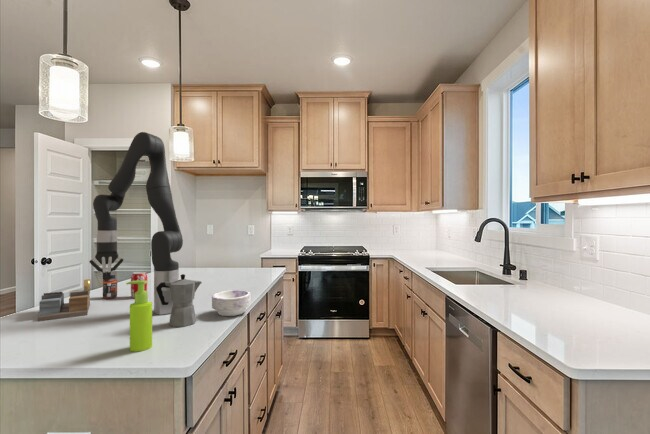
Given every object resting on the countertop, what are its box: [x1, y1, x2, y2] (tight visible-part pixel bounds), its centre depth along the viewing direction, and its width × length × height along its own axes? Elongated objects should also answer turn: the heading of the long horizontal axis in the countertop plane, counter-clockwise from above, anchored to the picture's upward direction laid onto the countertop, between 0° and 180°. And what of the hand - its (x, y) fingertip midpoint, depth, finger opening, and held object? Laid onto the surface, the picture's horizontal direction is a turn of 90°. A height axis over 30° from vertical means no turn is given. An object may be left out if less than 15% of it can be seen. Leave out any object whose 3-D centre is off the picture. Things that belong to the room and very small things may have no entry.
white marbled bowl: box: [211, 289, 252, 317], centre depth 137 cm, size 15×15×8 cm
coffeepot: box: [156, 273, 202, 328], centre depth 123 cm, size 15×9×18 cm, turn 116°
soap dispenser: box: [125, 280, 153, 352], centre depth 101 cm, size 6×7×20 cm
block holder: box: [37, 289, 91, 322], centre depth 138 cm, size 20×15×8 cm
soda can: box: [130, 271, 148, 299], centre depth 164 cm, size 7×7×12 cm
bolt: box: [68, 279, 92, 297], centre depth 141 cm, size 3×7×6 cm, turn 122°
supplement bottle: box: [102, 273, 118, 300], centre depth 162 cm, size 6×6×11 cm
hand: (106, 280), depth 146 cm, fingers closed
